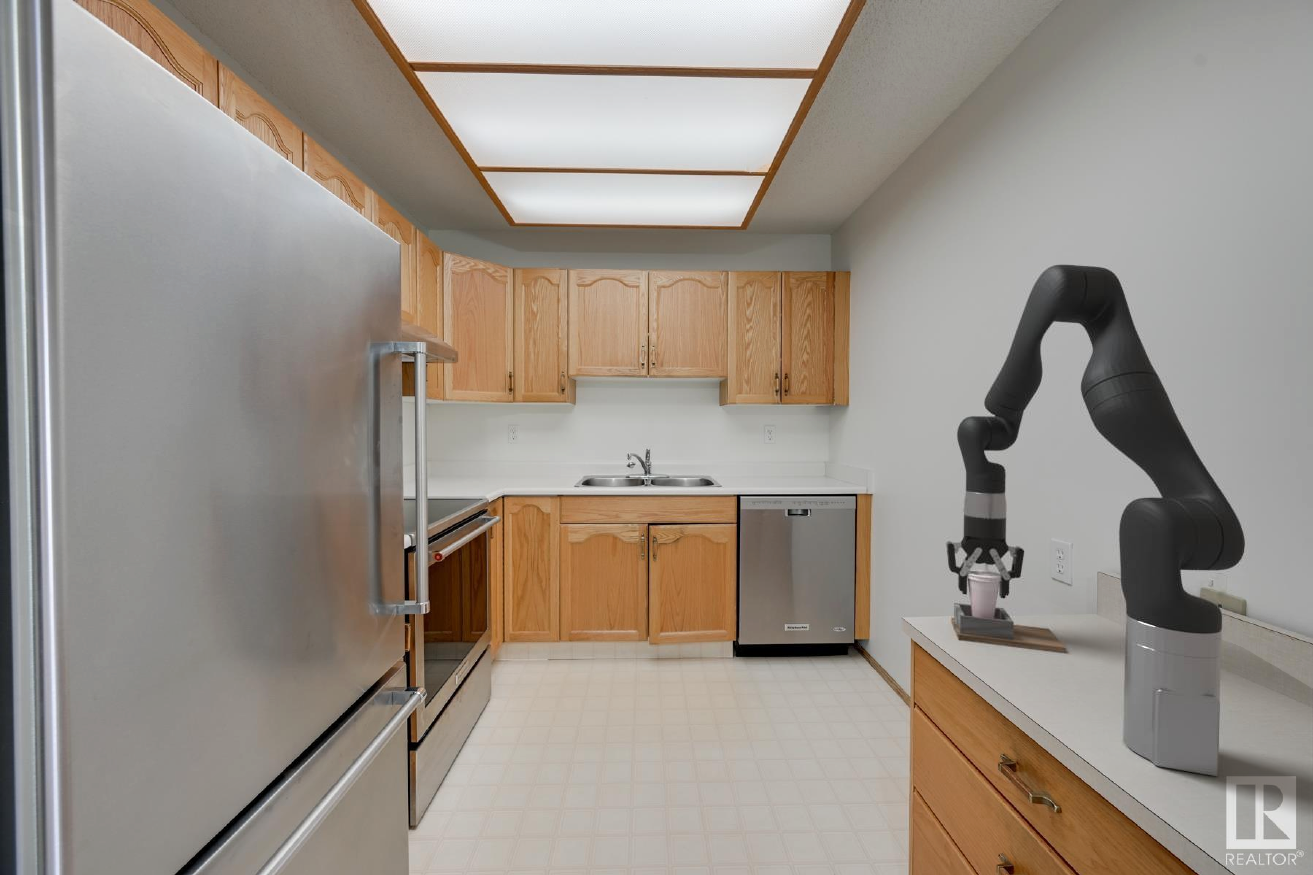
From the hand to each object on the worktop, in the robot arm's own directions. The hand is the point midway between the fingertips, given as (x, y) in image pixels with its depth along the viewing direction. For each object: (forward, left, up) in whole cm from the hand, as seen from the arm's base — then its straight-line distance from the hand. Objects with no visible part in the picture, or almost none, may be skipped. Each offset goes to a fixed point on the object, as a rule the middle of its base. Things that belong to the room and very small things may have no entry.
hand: (983, 595), depth 117 cm
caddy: (0, -4, -8) cm, 9 cm away
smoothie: (0, 0, -5) cm, 5 cm away
